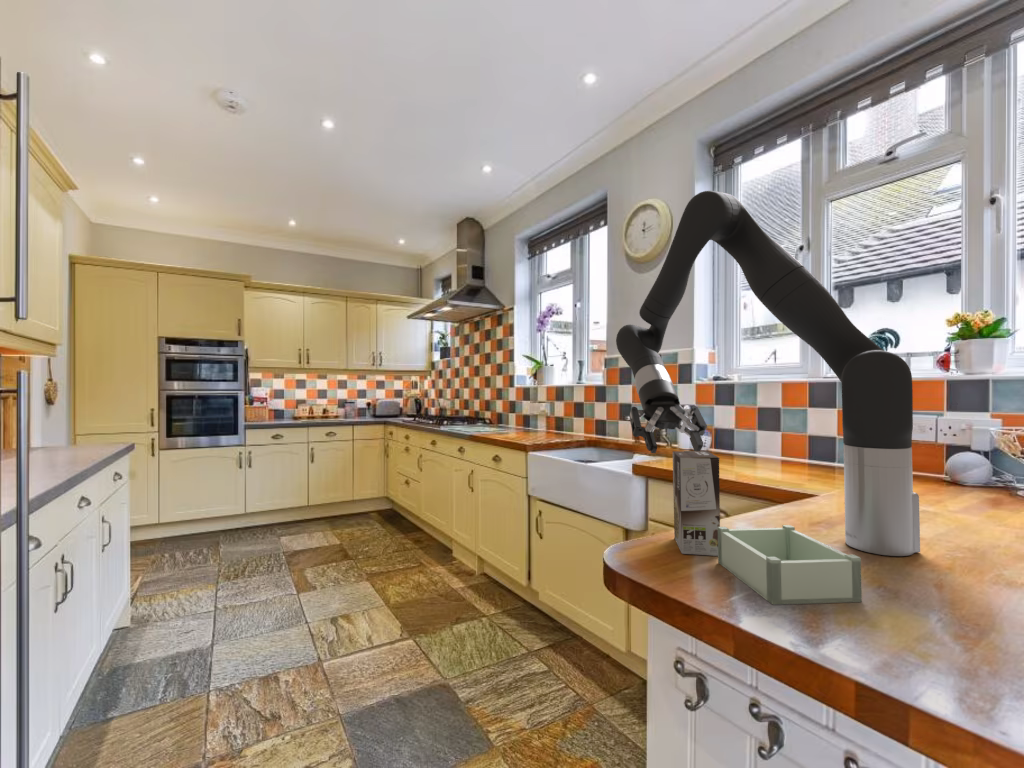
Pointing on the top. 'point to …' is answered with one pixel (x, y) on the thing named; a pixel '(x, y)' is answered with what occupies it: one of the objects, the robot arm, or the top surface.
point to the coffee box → (696, 502)
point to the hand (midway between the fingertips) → (676, 450)
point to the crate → (789, 566)
